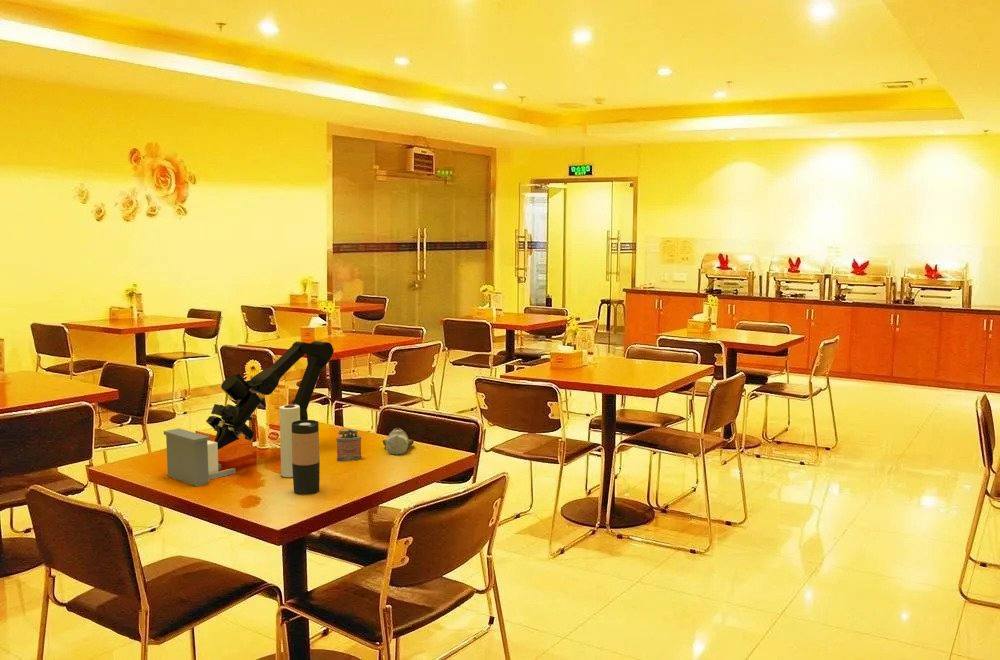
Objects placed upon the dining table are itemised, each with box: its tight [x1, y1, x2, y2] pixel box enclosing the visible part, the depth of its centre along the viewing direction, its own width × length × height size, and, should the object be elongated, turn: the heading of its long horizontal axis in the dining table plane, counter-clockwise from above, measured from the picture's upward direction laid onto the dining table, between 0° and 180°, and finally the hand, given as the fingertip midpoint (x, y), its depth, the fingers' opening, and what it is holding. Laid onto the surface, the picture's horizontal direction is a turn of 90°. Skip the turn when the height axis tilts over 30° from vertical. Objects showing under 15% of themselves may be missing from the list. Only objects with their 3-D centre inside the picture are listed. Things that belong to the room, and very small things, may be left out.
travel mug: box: [292, 419, 321, 496], centre depth 246 cm, size 8×8×20 cm
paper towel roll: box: [278, 404, 300, 478], centre depth 262 cm, size 7×6×21 cm
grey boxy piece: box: [163, 428, 236, 487], centre depth 261 cm, size 16×17×14 cm
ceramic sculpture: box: [382, 426, 415, 456], centre depth 293 cm, size 11×9×15 cm
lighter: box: [335, 428, 362, 462], centre depth 281 cm, size 8×3×10 cm, turn 108°
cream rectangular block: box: [207, 440, 219, 474], centre depth 262 cm, size 4×6×10 cm
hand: (213, 450), depth 264 cm, fingers closed, pressing on cream rectangular block
